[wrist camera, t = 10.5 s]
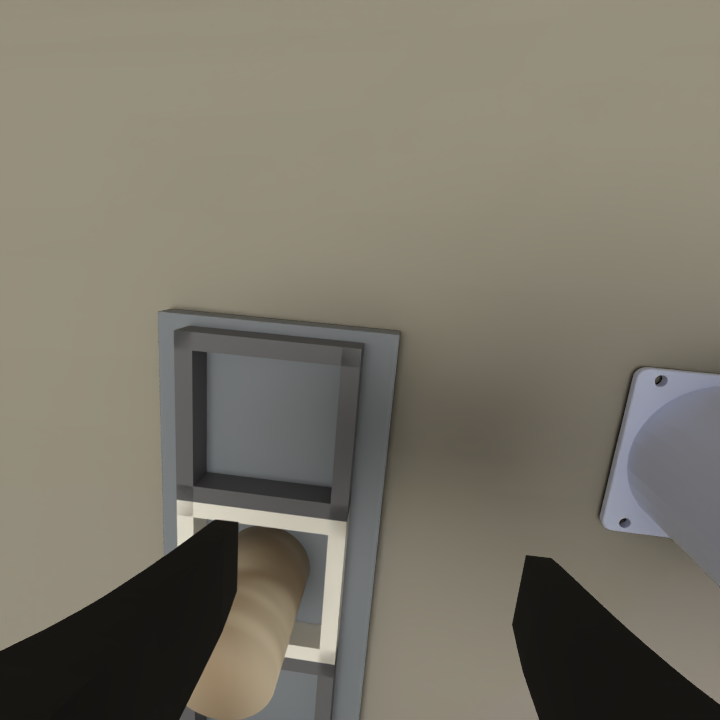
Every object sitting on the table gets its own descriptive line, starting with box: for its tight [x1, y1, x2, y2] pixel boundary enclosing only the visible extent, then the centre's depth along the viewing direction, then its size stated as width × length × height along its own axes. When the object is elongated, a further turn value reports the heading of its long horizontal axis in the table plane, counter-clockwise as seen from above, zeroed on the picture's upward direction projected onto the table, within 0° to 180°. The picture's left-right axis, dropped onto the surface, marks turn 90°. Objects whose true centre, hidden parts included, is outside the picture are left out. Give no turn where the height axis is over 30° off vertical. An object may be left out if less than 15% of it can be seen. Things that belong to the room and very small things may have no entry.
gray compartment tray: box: [158, 309, 400, 720], centre depth 22 cm, size 11×25×3 cm, turn 175°
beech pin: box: [186, 526, 310, 720], centre depth 19 cm, size 4×4×6 cm
